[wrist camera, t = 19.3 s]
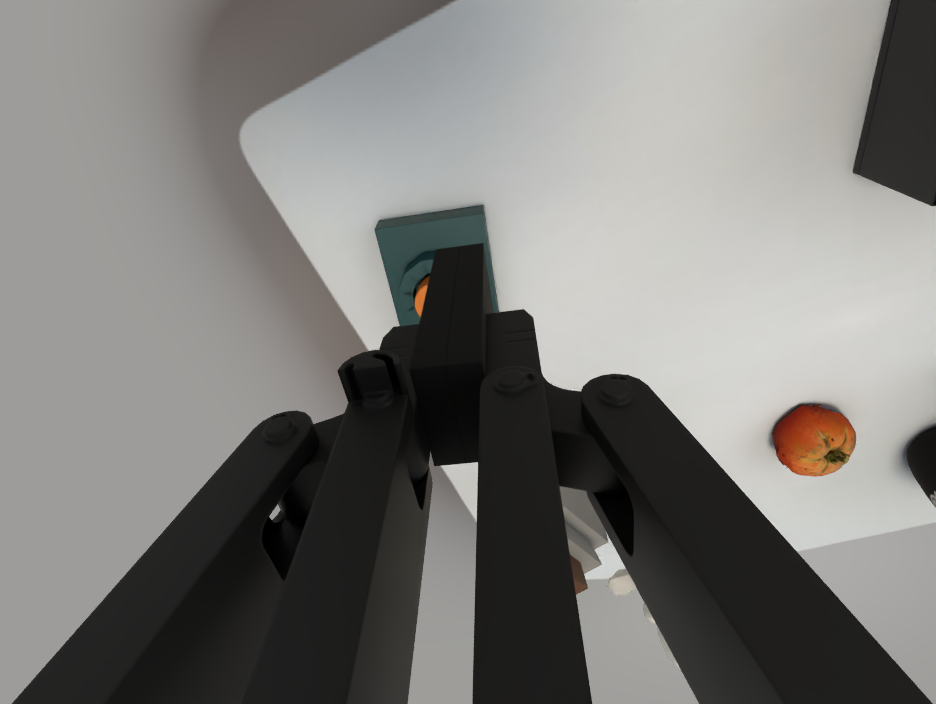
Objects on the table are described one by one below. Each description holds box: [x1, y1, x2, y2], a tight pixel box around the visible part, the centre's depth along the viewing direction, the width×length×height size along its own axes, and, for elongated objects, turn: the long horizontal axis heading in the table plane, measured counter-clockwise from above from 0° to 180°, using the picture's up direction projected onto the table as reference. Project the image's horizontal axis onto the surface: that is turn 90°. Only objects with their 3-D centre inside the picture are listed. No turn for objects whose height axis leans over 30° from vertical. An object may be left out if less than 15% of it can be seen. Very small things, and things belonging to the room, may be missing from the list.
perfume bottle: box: [560, 486, 608, 594], centre depth 50 cm, size 7×7×18 cm
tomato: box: [772, 404, 856, 476], centre depth 55 cm, size 8×7×7 cm
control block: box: [375, 205, 499, 326], centre depth 46 cm, size 12×9×4 cm
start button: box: [415, 276, 430, 317], centre depth 44 cm, size 4×4×2 cm
